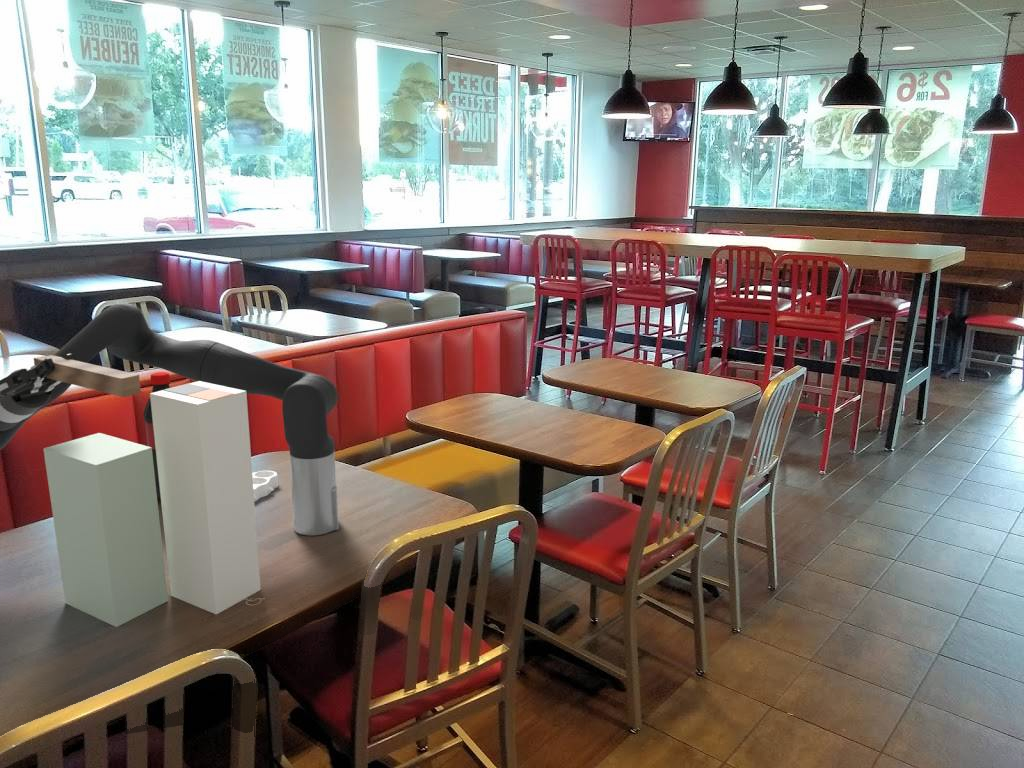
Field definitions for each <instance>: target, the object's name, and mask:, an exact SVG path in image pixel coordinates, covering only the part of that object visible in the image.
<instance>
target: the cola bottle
mask: <svg viewBox="0 0 1024 768" xmlns="http://www.w3.org/2000/svg"><path fill="white" fill-rule="evenodd" d="M171 383H172V382H171V376H170V373H169V372H168V371H167V372H166V371H158V372H153V373H151V374H150V385H151V386H152V389H151V390H152V391H151V393H154V392H158V391H162V390H164V389H168V388H171V387H170V384H171ZM142 415H143V420H144V424H145V425H144V426H145V433H146V444H147V445H146V446H148V447H152V455H153V465H154V474H155V484H156V493H157V500H160V501H161V495H160V485H159V476H158V466H157V457H156V447H155V438H154V428H153V419H152V409H151V399H150V397H149V398H148V400H147V402H146V405H145V407H144V410H143V414H142Z"/></svg>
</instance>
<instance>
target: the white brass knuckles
mask: <svg viewBox="0 0 1024 768" xmlns="http://www.w3.org/2000/svg"><path fill="white" fill-rule="evenodd" d="M252 477H253V491H254V502H257V501H258V500H259V499H261V498H263V497H267V496H269V495H270V494H271V493H272V491H275V489H276V488H278V487H279V479H278V478H279V477H278V472H276V471H273V470H259V471H257V472H256V471H253V472H252Z"/></svg>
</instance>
